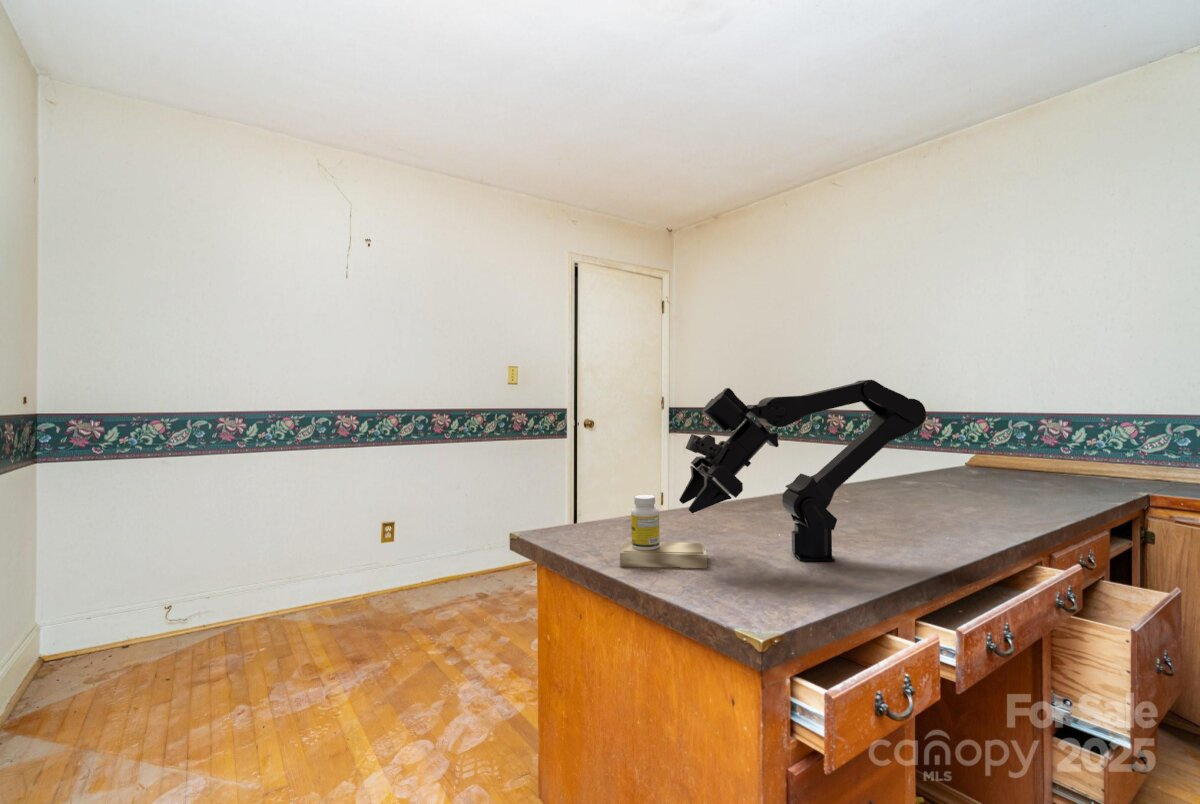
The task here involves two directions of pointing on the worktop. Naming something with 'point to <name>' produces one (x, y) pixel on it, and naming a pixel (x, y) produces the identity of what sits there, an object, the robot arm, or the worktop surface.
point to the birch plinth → (665, 555)
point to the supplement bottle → (645, 523)
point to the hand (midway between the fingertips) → (685, 506)
